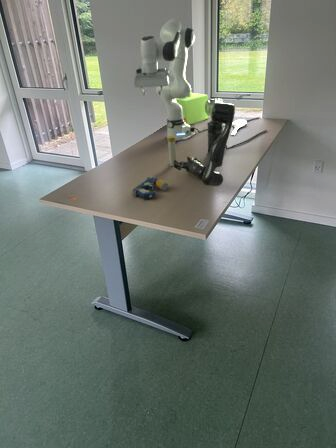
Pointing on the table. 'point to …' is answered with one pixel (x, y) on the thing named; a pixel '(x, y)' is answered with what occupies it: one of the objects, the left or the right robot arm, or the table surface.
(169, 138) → the lid
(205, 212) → the table surface
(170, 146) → the pale cream cylinder
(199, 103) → the lime green box
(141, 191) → the spray gun
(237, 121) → the spoon
